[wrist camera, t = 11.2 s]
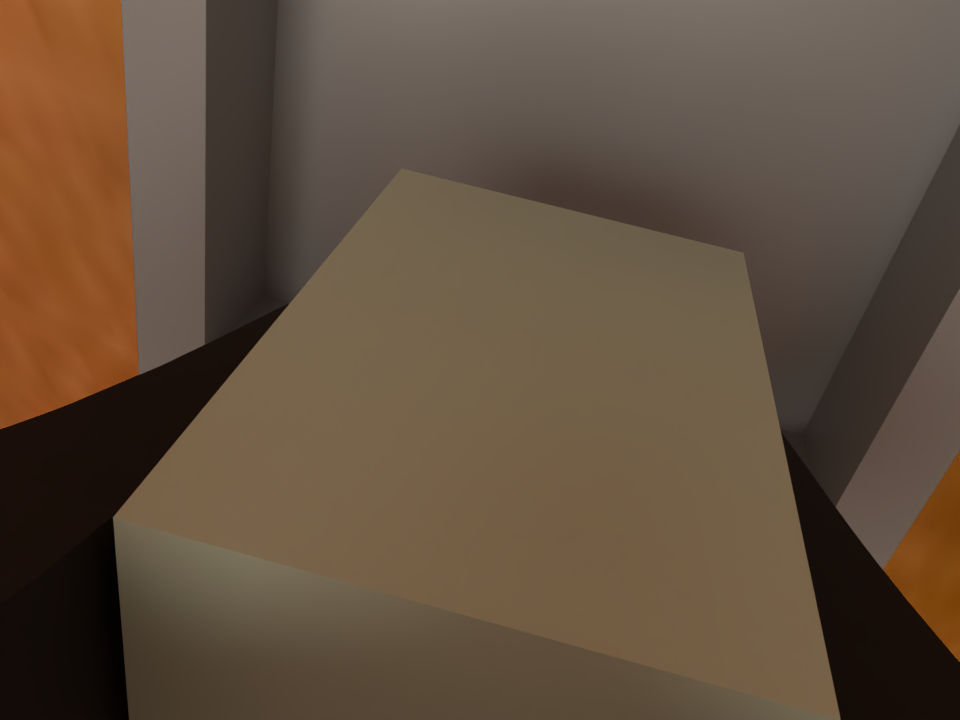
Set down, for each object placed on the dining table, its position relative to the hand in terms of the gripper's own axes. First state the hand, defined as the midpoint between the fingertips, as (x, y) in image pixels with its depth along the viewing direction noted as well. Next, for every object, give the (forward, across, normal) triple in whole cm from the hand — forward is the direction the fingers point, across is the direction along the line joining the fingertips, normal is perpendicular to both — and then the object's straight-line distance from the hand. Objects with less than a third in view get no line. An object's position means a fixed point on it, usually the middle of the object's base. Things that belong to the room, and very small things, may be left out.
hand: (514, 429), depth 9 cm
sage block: (+2, 0, 0) cm, 2 cm away
